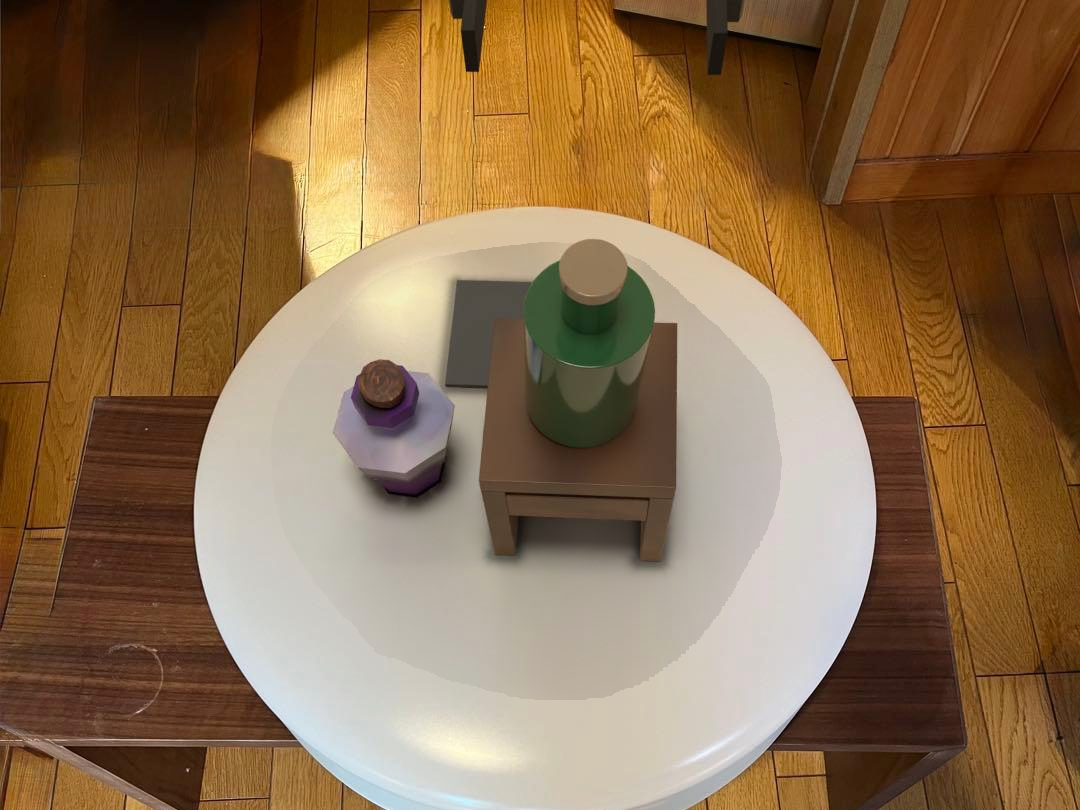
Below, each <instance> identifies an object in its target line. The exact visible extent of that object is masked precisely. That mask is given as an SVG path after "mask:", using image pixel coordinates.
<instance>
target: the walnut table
mask: <svg viewBox="0 0 1080 810" xmlns="http://www.w3.org/2000/svg"><path fill="white" fill-rule="evenodd" d="M485 401H486V402H485V411H484V421H483V432H482V433H483V434H482V443H481V452H480V453H481V454H480V465H479V474H478V476H479V477H478V484H479V488H480V493H481V497H482V501H483V507H484V512H485V516H486V521H487V525H488V529H489V534H490V539H491V543H492V548H493V552H494V555H496V556H497V555H498V556H516V553H517V538H518V526H519V525H518V524H519V517H521V516H522V517H542V518H543V517H544V518H566V519H567V518H570V519H593V520H595V519H596V520H617V521H618V520H619V521H620V520H622V521H640V546H639V547H640V551H639V552H640V553H639V559H640V561H641V562H642V561H644V562H661V561H662V558H663V554H664V549H665V544H666V538H667V534H668V529H669V524H670V518H671V515H672V509H673V504H674V501H675V495H676V490H677V437H678V436H677V435H678V433H677V430H678V429H677V427H678V424H677V423H678V418H677V417H678V323H677V322H655V321H654V325H653V330H652V335H651V339H650V344H649V349H648V353H647V358H646V363H645V367H644V372H643V377H642V381H641V386H640V390H639V395H638V400H637V404H636V409H635V412H634V415H633V418H632V419H631V421H630V423H629V424H628V426H627V427H626V428H625V430H624V431H623V432H622V433H621V434H619V435H618V436H617V437H616V438H614V439H612V440H611V441H609V442H606V443H604V444H601V445H598V446H594V447H588V448H576V447H570V446H565V445H562V444H559V443H557V442H555V441H553V440H551V439H550V438H548V437H546V436H545V435H544V434H543V433H541V432H540V430H539V429H538V428H537V427H536V426H535V425H534V423H533V422H532V420H531V418H530V416H529V414H528V411H527V407H526V401H525V364H524V319H512V318H495V319H494V328H493V338H492V348H491V359H490V369H489V379H488V388H487V391H486V399H485Z"/></svg>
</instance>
